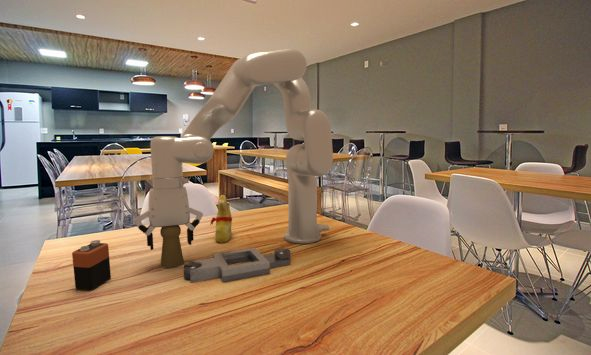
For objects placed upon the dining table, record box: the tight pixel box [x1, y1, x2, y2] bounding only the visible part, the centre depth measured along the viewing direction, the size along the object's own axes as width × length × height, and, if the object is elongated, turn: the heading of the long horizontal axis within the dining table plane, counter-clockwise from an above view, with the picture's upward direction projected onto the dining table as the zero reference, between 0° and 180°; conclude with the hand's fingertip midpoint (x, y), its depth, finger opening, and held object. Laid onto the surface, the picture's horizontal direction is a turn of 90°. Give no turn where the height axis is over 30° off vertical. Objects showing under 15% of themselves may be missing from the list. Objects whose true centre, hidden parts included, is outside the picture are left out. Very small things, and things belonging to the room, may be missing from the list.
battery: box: [71, 239, 112, 291], centre depth 78 cm, size 4×7×10 cm, turn 172°
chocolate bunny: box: [210, 194, 233, 244], centre depth 112 cm, size 7×11×15 cm, turn 2°
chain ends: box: [183, 247, 291, 284], centre depth 88 cm, size 28×12×3 cm, turn 115°
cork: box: [159, 225, 185, 269], centre depth 90 cm, size 6×6×11 cm
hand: (171, 245), depth 90 cm, fingers open, 9 cm apart
